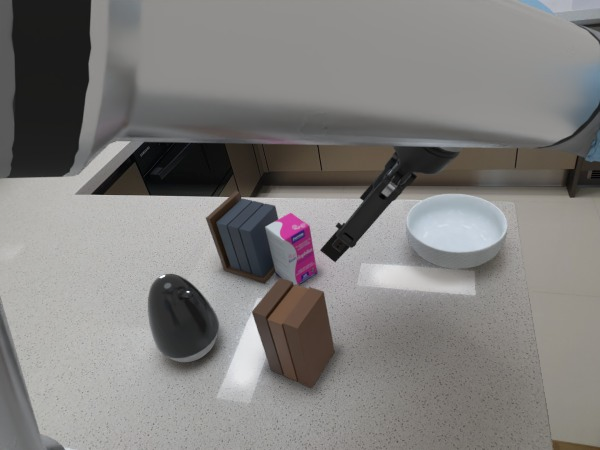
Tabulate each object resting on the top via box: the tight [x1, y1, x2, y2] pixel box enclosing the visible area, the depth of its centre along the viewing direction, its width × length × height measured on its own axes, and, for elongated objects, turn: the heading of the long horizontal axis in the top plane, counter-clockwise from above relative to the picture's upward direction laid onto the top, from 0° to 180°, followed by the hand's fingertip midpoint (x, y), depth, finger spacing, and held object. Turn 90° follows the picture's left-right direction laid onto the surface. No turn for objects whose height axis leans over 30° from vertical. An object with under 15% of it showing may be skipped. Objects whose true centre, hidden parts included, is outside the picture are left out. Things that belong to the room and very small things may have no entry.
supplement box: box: [265, 212, 318, 286], centre depth 82 cm, size 6×6×12 cm
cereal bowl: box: [405, 193, 509, 270], centre depth 81 cm, size 17×17×7 cm
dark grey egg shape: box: [147, 273, 220, 363], centre depth 71 cm, size 10×10×15 cm
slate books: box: [205, 190, 279, 284], centre depth 86 cm, size 9×10×13 cm
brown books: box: [251, 277, 336, 389], centre depth 66 cm, size 7×7×13 cm
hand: (349, 226), depth 69 cm, fingers open, 13 cm apart
